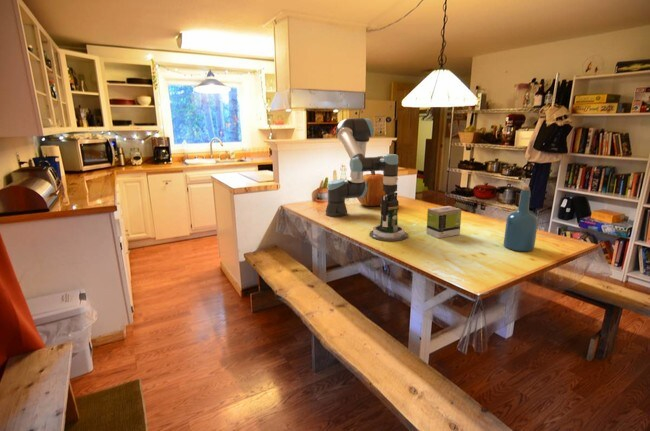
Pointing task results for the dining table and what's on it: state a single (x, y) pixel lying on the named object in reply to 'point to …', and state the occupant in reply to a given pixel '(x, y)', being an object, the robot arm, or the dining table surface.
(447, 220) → the tea box
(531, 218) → the wine bottle
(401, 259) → the dining table surface
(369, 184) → the pumpkin
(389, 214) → the coffee jar
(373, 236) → the ring collar
